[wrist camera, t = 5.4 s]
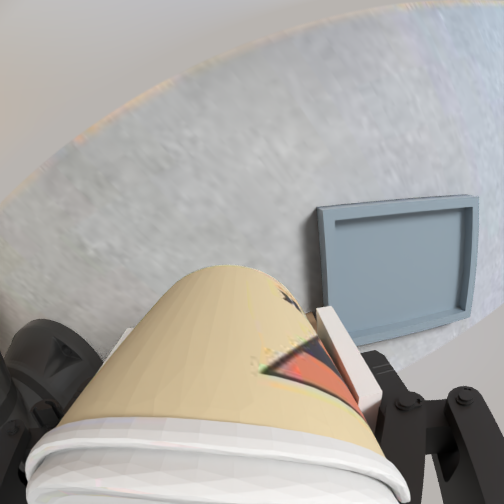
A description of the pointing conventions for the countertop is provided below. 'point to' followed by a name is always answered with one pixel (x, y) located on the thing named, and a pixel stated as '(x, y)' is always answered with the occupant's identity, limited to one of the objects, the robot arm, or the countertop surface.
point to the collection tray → (399, 264)
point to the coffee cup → (216, 410)
